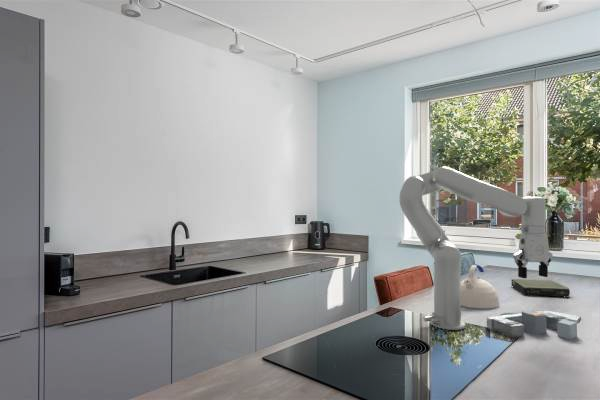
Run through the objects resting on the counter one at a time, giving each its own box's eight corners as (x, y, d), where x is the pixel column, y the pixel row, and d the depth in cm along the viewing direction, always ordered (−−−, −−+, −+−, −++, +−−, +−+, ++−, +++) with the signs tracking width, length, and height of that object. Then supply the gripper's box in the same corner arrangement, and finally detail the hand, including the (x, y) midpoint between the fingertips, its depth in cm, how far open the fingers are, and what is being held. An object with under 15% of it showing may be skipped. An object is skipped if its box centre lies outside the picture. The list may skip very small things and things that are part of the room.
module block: (535, 334, 139) (535, 315, 139) (521, 329, 144) (521, 311, 145) (546, 332, 140) (546, 314, 140) (532, 327, 146) (532, 309, 146)
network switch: (550, 288, 214) (550, 279, 214) (576, 298, 191) (576, 288, 191) (506, 287, 216) (506, 278, 217) (526, 297, 193) (526, 287, 193)
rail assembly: (511, 337, 135) (511, 325, 135) (486, 327, 146) (486, 316, 146) (572, 329, 143) (571, 318, 143) (544, 320, 154) (544, 310, 154)
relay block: (570, 339, 133) (570, 324, 133) (557, 336, 137) (557, 321, 137) (577, 336, 136) (576, 322, 136) (564, 333, 139) (564, 319, 140)
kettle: (444, 303, 181) (444, 265, 181) (461, 295, 196) (461, 260, 197) (491, 311, 167) (490, 270, 168) (505, 302, 183) (504, 264, 183)
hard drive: (580, 315, 157) (545, 309, 166) (577, 320, 151) (540, 313, 160) (580, 320, 157) (545, 313, 166) (577, 324, 151) (540, 317, 160)
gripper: (523, 231, 136) (522, 280, 136) (560, 230, 142) (560, 277, 141) (506, 230, 144) (505, 276, 144) (542, 229, 149) (542, 274, 149)
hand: (532, 277), depth 143 cm, fingers open, 9 cm apart
